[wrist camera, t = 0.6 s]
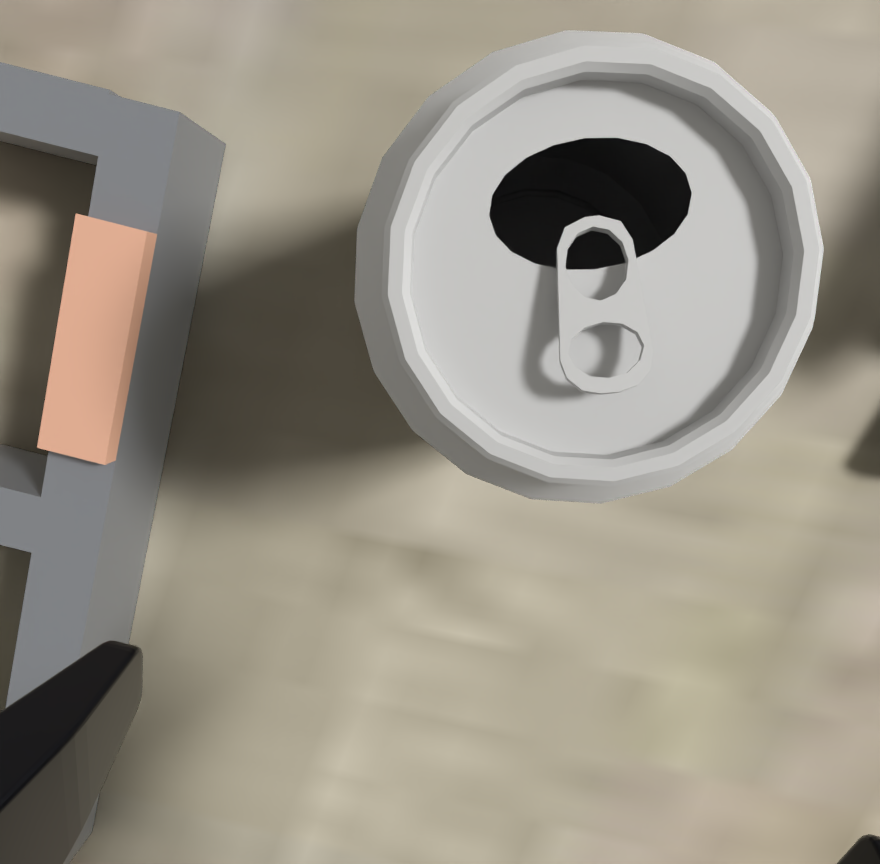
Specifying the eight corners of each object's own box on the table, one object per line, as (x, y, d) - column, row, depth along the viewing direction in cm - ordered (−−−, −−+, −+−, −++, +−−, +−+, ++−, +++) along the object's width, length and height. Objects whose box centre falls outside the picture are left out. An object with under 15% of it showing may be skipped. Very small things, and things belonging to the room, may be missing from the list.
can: (654, 147, 22) (876, -56, 10) (669, 407, 23) (885, 509, 11) (393, 178, 22) (301, 17, 10) (421, 431, 23) (366, 554, 11)
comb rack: (91, 832, 26) (20, 929, 22) (-113, 779, 26) (-222, 866, 22) (226, 140, 22) (170, 101, 18) (-13, 79, 22) (-123, 26, 18)
